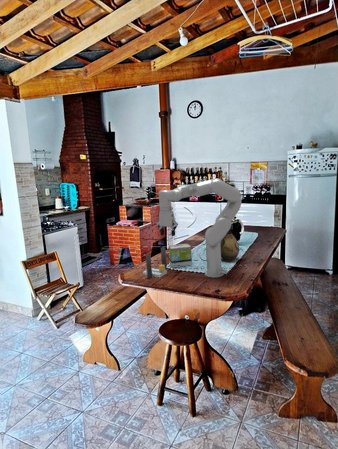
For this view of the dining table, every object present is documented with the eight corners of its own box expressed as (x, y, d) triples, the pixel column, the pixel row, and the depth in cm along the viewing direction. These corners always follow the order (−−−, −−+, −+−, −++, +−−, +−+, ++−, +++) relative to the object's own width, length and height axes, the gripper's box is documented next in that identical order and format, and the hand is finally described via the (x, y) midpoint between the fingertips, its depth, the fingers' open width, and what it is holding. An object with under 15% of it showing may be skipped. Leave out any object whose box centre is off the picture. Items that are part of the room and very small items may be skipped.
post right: (167, 268, 220) (166, 247, 217) (165, 270, 218) (163, 248, 214) (164, 268, 222) (162, 247, 219) (161, 269, 219) (159, 248, 216)
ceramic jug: (239, 263, 221) (238, 222, 215) (218, 263, 224) (216, 223, 218) (239, 255, 237) (238, 217, 231) (219, 256, 240) (217, 218, 234)
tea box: (172, 268, 220) (170, 248, 217) (169, 264, 230) (168, 245, 227) (192, 265, 223) (191, 246, 220) (188, 261, 233) (187, 242, 230)
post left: (153, 277, 206) (151, 254, 203) (150, 278, 203) (148, 255, 200) (149, 276, 208) (147, 253, 205) (146, 278, 205) (144, 255, 202)
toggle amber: (165, 270, 211) (164, 264, 210) (162, 271, 208) (162, 266, 207) (161, 269, 212) (161, 264, 211) (159, 271, 210) (158, 265, 209)
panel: (167, 273, 212) (166, 268, 211) (159, 277, 204) (159, 273, 204) (151, 270, 220) (150, 266, 219) (143, 274, 212) (142, 270, 211)
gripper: (180, 208, 196) (182, 234, 200) (158, 207, 206) (160, 233, 209) (173, 210, 190) (176, 237, 194) (151, 209, 200) (153, 235, 203)
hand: (167, 235), depth 201 cm, fingers open, 8 cm apart
